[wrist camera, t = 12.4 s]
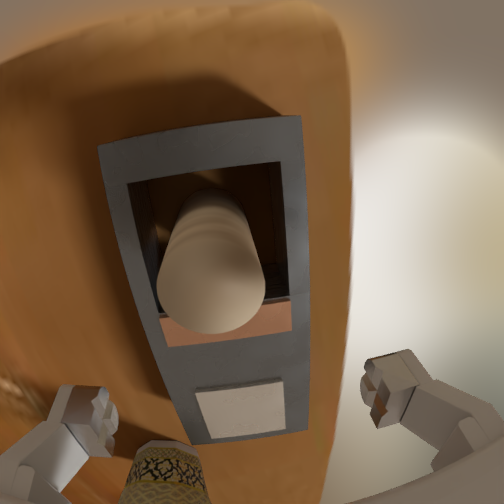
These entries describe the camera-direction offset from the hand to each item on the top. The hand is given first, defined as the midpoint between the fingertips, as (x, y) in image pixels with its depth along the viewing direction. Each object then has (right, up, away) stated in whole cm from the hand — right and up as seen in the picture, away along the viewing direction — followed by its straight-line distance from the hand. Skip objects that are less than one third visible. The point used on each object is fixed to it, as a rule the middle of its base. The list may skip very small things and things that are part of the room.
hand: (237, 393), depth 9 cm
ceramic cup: (-9, -18, +20) cm, 29 cm away
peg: (-2, +6, +10) cm, 12 cm away
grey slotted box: (-1, +1, +12) cm, 12 cm away
